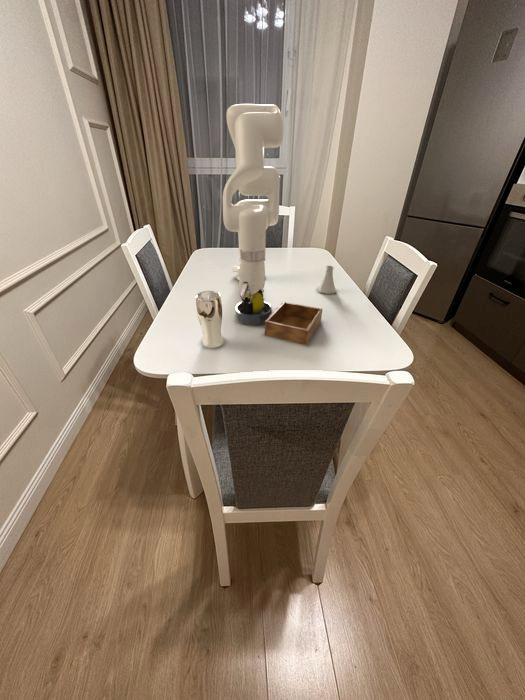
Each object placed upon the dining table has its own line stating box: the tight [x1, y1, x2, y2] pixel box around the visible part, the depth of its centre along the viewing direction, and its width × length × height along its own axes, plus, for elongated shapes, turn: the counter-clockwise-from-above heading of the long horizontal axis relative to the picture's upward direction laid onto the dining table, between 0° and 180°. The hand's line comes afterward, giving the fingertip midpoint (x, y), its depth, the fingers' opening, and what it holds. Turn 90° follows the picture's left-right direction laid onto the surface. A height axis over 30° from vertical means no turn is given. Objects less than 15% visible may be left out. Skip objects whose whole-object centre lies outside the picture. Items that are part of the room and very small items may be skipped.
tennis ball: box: [246, 291, 265, 313], centre depth 94 cm, size 7×7×7 cm
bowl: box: [234, 300, 273, 327], centre depth 96 cm, size 12×12×4 cm
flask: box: [317, 265, 336, 295], centre depth 115 cm, size 7×7×10 cm
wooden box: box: [264, 301, 323, 346], centre depth 90 cm, size 14×16×5 cm
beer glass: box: [195, 290, 224, 349], centre depth 80 cm, size 7×7×15 cm
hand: (253, 308), depth 95 cm, fingers closed on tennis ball, 7 cm apart
